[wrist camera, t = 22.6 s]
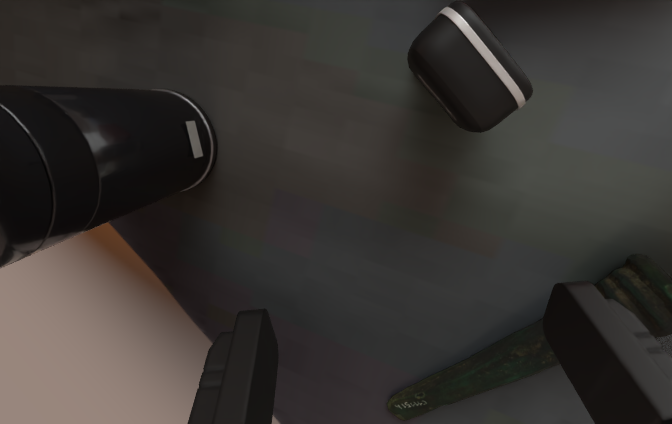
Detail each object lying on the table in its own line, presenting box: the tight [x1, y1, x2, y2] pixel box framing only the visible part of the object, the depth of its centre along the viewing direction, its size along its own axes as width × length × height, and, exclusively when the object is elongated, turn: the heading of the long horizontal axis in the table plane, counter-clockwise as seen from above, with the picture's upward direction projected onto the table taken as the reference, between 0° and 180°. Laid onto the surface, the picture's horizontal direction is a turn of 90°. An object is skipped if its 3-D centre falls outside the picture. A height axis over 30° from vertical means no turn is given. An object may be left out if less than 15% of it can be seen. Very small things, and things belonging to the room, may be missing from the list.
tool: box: [387, 254, 672, 421], centre depth 32 cm, size 28×6×7 cm, turn 127°
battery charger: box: [408, 1, 533, 133], centre depth 24 cm, size 7×4×11 cm, turn 43°
